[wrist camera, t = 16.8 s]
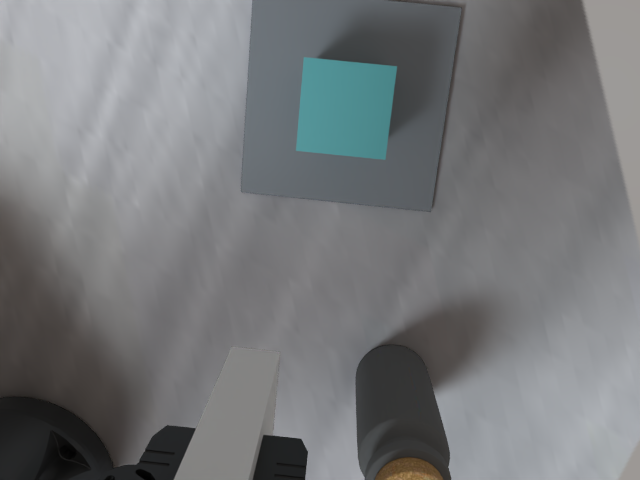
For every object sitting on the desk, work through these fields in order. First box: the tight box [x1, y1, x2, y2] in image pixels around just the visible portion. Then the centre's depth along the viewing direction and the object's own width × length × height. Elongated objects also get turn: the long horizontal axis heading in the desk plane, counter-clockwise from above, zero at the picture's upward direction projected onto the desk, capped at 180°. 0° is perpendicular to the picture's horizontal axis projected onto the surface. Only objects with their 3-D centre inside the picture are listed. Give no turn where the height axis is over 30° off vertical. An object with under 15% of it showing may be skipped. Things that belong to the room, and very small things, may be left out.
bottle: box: [356, 345, 451, 480], centre depth 39 cm, size 6×6×15 cm
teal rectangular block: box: [296, 57, 397, 160], centre depth 37 cm, size 5×5×8 cm
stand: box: [241, 0, 462, 212], centre depth 38 cm, size 14×14×7 cm
